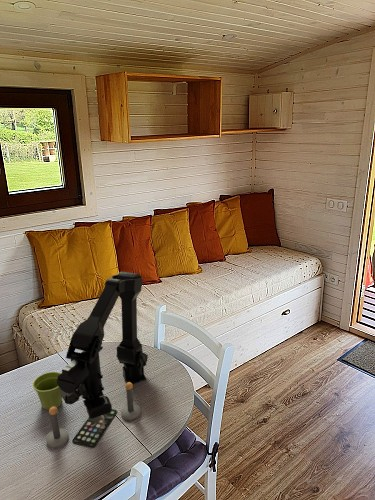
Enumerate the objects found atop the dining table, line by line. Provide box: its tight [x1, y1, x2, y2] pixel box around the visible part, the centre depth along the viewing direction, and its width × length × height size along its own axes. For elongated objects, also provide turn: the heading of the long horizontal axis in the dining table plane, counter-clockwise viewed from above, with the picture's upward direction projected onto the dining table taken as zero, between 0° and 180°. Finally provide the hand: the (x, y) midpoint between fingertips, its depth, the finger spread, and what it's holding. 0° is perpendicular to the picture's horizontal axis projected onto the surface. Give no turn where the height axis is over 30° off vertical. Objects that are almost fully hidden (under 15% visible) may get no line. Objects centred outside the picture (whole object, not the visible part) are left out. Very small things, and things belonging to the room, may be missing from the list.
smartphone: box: [72, 408, 118, 449], centre depth 113 cm, size 7×1×15 cm
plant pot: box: [32, 371, 63, 411], centre depth 120 cm, size 9×9×9 cm
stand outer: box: [45, 407, 69, 449], centre depth 106 cm, size 6×6×11 cm
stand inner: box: [120, 382, 142, 421], centre depth 116 cm, size 6×6×11 cm
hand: (94, 414), depth 112 cm, fingers closed
